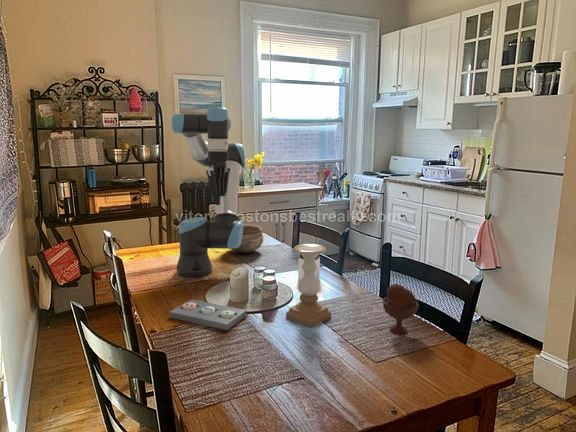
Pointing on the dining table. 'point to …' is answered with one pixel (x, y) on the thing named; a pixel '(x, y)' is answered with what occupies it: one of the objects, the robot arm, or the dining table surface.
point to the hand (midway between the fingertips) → (219, 212)
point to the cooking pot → (250, 239)
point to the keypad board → (205, 319)
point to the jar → (300, 270)
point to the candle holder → (309, 290)
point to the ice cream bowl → (399, 306)
